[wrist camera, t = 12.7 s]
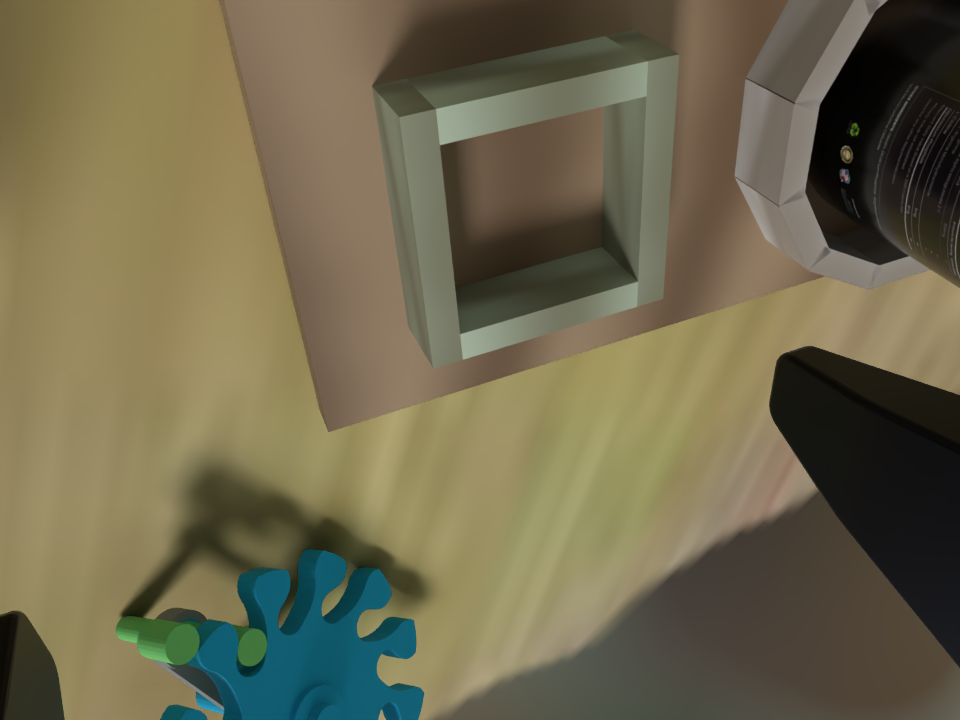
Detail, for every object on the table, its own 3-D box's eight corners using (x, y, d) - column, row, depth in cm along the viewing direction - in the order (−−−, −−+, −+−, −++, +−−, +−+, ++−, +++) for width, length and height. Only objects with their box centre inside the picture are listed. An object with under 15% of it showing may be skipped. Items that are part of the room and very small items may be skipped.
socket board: (320, 410, 25) (347, 478, 23) (210, -32, 18) (235, 4, 16) (974, 209, 31) (1047, 248, 29) (1095, -183, 24) (1204, -172, 22)
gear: (472, 650, 32) (349, 961, 26) (356, 633, 36) (225, 903, 30) (288, 464, 26) (74, 816, 20) (170, 466, 29) (-41, 765, 24)
